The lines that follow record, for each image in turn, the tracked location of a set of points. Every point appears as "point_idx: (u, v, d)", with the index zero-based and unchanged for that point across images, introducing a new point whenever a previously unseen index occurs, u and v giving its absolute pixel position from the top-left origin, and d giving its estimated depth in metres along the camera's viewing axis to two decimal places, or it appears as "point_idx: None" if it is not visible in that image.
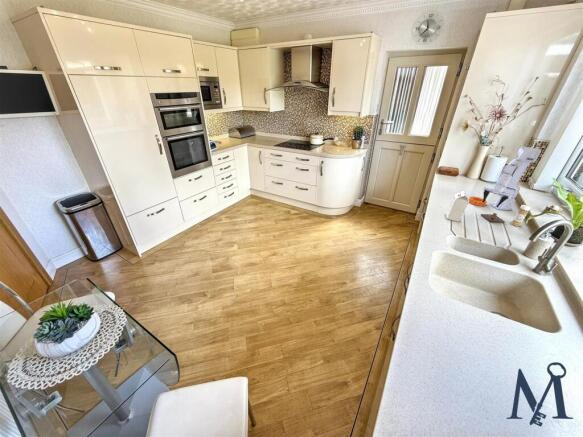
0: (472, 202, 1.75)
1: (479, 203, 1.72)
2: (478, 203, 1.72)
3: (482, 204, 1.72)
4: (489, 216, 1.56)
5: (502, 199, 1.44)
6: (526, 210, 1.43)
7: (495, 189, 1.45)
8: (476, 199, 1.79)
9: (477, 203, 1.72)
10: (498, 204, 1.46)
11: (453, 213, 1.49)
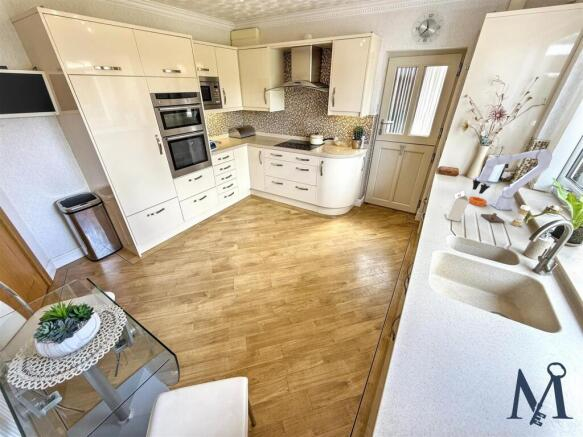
0: (472, 202, 1.75)
1: (479, 203, 1.72)
2: (478, 203, 1.72)
3: (482, 204, 1.72)
4: (489, 216, 1.56)
5: (481, 186, 1.70)
6: (526, 210, 1.43)
7: (478, 178, 1.73)
8: (476, 199, 1.79)
9: (477, 203, 1.72)
10: (479, 191, 1.72)
11: (453, 213, 1.49)
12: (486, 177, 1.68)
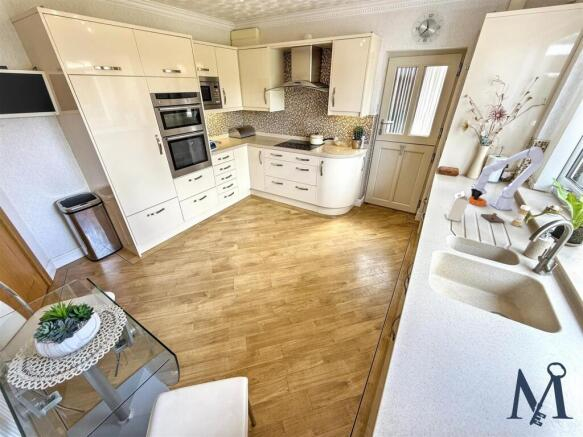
0: (472, 202, 1.75)
1: (479, 203, 1.72)
2: (478, 203, 1.72)
3: (482, 204, 1.72)
4: (489, 216, 1.56)
5: (476, 193, 1.75)
6: (526, 210, 1.43)
7: (475, 185, 1.76)
8: None
9: (477, 203, 1.72)
10: (474, 197, 1.77)
11: (453, 213, 1.49)
12: (482, 185, 1.71)
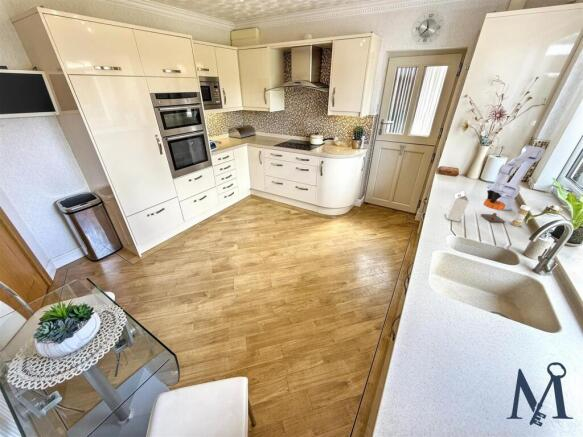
0: (489, 205, 1.54)
1: (497, 207, 1.51)
2: (496, 207, 1.51)
3: (500, 208, 1.51)
4: (489, 216, 1.56)
5: (493, 195, 1.54)
6: (526, 210, 1.43)
7: (492, 187, 1.55)
8: None
9: (494, 207, 1.52)
10: (491, 200, 1.57)
11: (453, 213, 1.49)
12: (501, 186, 1.51)
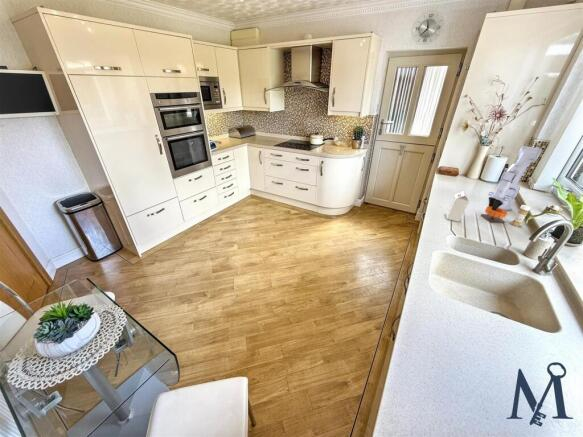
0: (490, 213, 1.51)
1: (499, 214, 1.48)
2: (498, 214, 1.48)
3: (502, 216, 1.48)
4: (489, 216, 1.56)
5: (494, 202, 1.52)
6: (526, 210, 1.43)
7: (493, 194, 1.52)
8: None
9: (496, 214, 1.49)
10: (492, 207, 1.54)
11: (453, 213, 1.49)
12: (502, 194, 1.48)
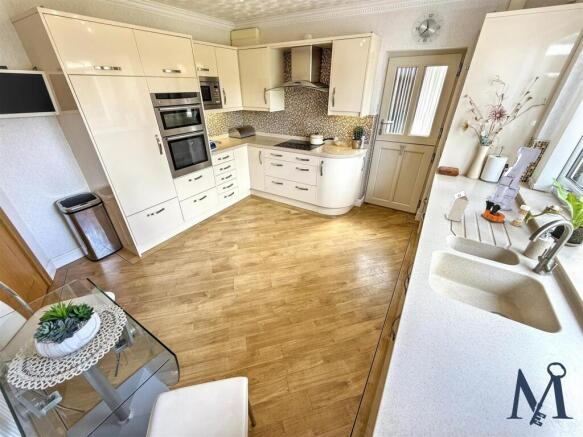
0: (488, 217, 1.52)
1: (497, 218, 1.50)
2: (495, 218, 1.50)
3: (500, 219, 1.50)
4: None
5: (493, 207, 1.52)
6: (526, 210, 1.43)
7: (491, 198, 1.54)
8: None
9: (494, 218, 1.50)
10: (491, 211, 1.55)
11: (453, 213, 1.49)
12: (500, 198, 1.49)
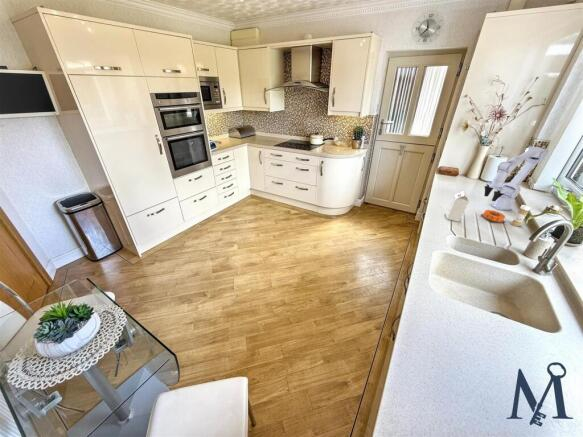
0: (488, 217, 1.52)
1: (497, 218, 1.50)
2: (495, 218, 1.50)
3: (500, 219, 1.50)
4: None
5: (494, 193, 1.55)
6: (526, 210, 1.43)
7: (491, 184, 1.57)
8: (492, 213, 1.57)
9: (494, 218, 1.50)
10: (492, 198, 1.57)
11: (453, 213, 1.49)
12: (500, 183, 1.53)
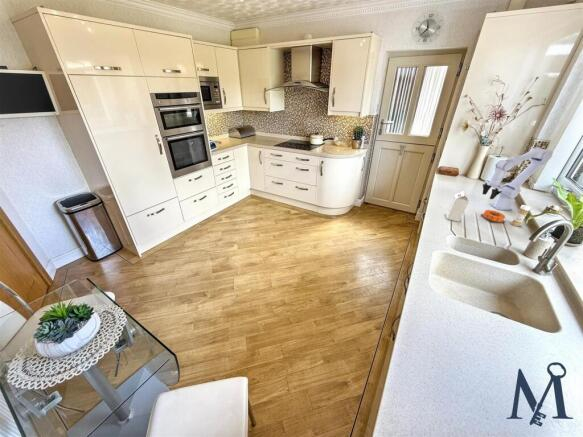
0: (488, 217, 1.52)
1: (497, 218, 1.50)
2: (495, 218, 1.50)
3: (500, 219, 1.50)
4: None
5: (492, 191, 1.58)
6: (526, 210, 1.43)
7: (489, 182, 1.60)
8: (492, 213, 1.57)
9: (494, 218, 1.50)
10: (490, 196, 1.60)
11: (453, 213, 1.49)
12: (498, 181, 1.56)
